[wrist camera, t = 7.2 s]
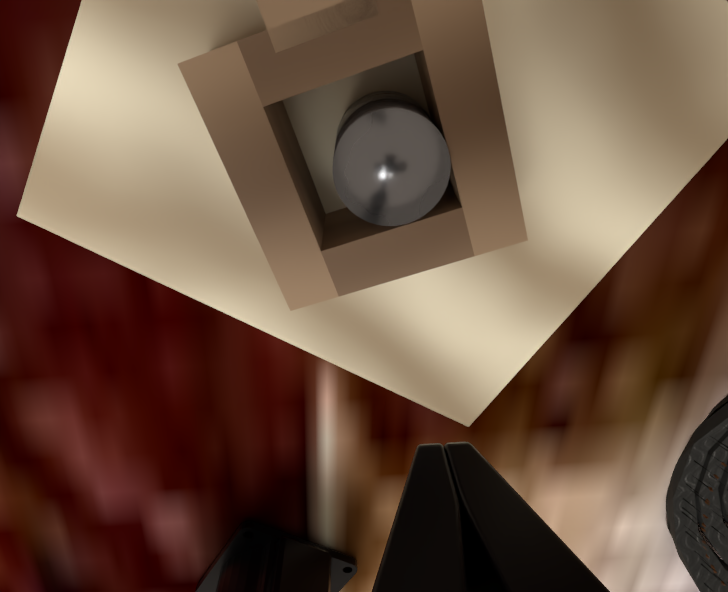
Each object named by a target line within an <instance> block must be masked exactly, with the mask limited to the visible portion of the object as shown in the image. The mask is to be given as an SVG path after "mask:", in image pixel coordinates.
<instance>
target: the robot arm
mask: <svg viewBox="0 0 728 592" xmlns="http://www.w3.org/2000/svg"><path fill="white" fill-rule="evenodd" d="M356 572H357V560H356V559H355V558H353V557H350V556H348V555H345V554H342V553H339V552H337V551H334V550H331V549H328V548H326V547H323V546H320V545H317V544H315V543H312V542H309V541H306V540H304V539H301V538H298V537H295V536H292V535H290V534H287V533H284V532H281V531H279V530H276V529H273V528H270V527H268V526H265V525H262V524H259V523H257V522H254V521H245V522H243V523H241V524H240V526H239V527H238V529H237V530H236V531H235V533H234V534H233V536H232V537H231V538H230V540H229V541H228V543H227V544H226V545H225V547H224V548H223V550H222V551H221V552H220V554H219V555H218V557H217V558H216V559H215V561H214V562H213V564H212V565H211V566H210V568H209V569H208V571H207V572H206V573H205V575H204V576H203V578H202V579H201V580H200V582H199V583H198V585H197V587H196V591H195V592H339V591H340V590H341V589H342V588H343V587H344V585H345V584H346V583H347V582H348V581H349V580H350V579H351V578H352V577H353V576H354V575H355V574H356ZM372 592H610V591H609V590H608V589H607V588H606V587H605V586H604V585H603V584H602V583H601V582H600V581H599V580H598V578H597V577H596V576H595V575H594V574H593V573H592V572H591V571H590V570H589V569H588V568H587V567H586V566H585V565H584V564H583V562H582V561H581V560H580V559H579V558H578V557H577V556H576V555H575V554H574V553H573V552H572V551H571V550H570V549H569V548H568V546H567V545H566V544H565V543H564V542H563V541H562V540H561V539H560V538H559V537H558V536H557V535H556V534H555V533H554V532H553V531H552V529H551V528H550V527H549V526H548V525H547V524H546V523H545V522H544V521H543V520H542V519H541V518H540V517H539V516H538V515H537V513H536V512H535V511H534V510H533V509H532V508H531V507H530V506H529V505H528V504H527V503H526V502H525V501H524V500H523V499H522V497H521V496H520V495H519V494H518V493H517V492H516V491H515V490H514V489H513V488H512V487H511V486H510V485H509V484H508V483H507V481H506V480H505V479H504V478H503V477H502V476H501V475H500V474H499V473H498V472H497V471H496V470H495V469H494V468H493V467H492V466H491V464H490V463H489V462H488V461H487V460H486V459H485V458H484V457H483V456H482V455H481V454H480V453H479V452H478V451H477V450H476V448H475V447H474V446H473V445H472V444H470V443H468V442H454V443H446V444H445V445H444V447H443V445H442V444H439V443H436V444H421V445H419V446H418V447H417V448H416V451H415V454H414V458H413V461H412V464H411V467H410V470H409V474H408V477H407V480H406V483H405V487H404V490H403V493H402V496H401V499H400V503H399V506H398V509H397V512H396V515H395V519H394V522H393V525H392V528H391V531H390V535H389V538H388V541H387V544H386V547H385V551H384V554H383V557H382V560H381V564H380V567H379V570H378V573H377V576H376V580H375V583H374V586H373V589H372Z"/></svg>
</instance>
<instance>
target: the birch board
mask: <svg viewBox="0 0 728 592" xmlns="http://www.w3.org/2000/svg"><path fill="white" fill-rule="evenodd" d="M482 3H483V8H484V13H485V18H486V24H487V29H488V34H489V39H490V44H491V50H492V55H493V60H494V65H495V71H496V76H497V81H498V86H499V91H500V97H501V102H502V107H503V112H504V117H505V123H506V128H507V133H508V138H509V144H510V149H511V154H512V159H513V164H514V170H515V175H516V180H517V185H518V191H519V196H520V201H521V206H522V211H523V217H524V222H525V227H526V232H527V238H528V241H525V242H521V243H518V244H514V245H511V246H508V247H504V248H501V249H498V250H494V251H491V252H488V253H484V254H481V255H477V256H474V257H471V258H467V259H464V260H461V261H457V262H454V263H450V264H447V265H444V266H440V267H437V268H434V269H430V270H427V271H424V272H420V273H417V274H413V275H410V276H407V277H403V278H400V279H397V280H393V281H390V282H387V283H383V284H380V285H376V286H373V287H370V288H366V289H363V290H360V291H356V292H353V293H350V294H346V295H343V296H339V297H336V298H333V299H329V300H326V301H323V302H319V303H316V304H313V305H309V306H306V307H302V308H299V309H296V310H292V311H290V309H289V307H288V305H287V302H286V300H285V298H284V296H283V294H282V292H281V289H280V287H279V285H278V283H277V281H276V278H275V276H274V274H273V272H272V270H271V268H270V265H269V263H268V261H267V259H266V257H265V254H264V252H263V250H262V248H261V246H260V244H259V241H258V239H257V237H256V235H255V233H254V230H253V228H252V226H251V224H250V222H249V219H248V217H247V215H246V213H245V211H244V209H243V206H242V204H241V202H240V200H239V198H238V195H237V193H236V191H235V189H234V187H233V185H232V182H231V180H230V178H229V176H228V174H227V171H226V169H225V167H224V165H223V163H222V160H221V158H220V156H219V154H218V152H217V150H216V147H215V145H214V143H213V141H212V139H211V136H210V134H209V132H208V130H207V128H206V126H205V123H204V121H203V119H202V117H201V115H200V112H199V110H198V108H197V106H196V104H195V102H194V99H193V97H192V95H191V93H190V91H189V88H188V86H187V84H186V82H185V80H184V77H183V75H182V73H181V71H180V69H179V67H178V63H180V62H183V61H186V60H188V59H191V58H194V57H196V56H199V55H202V54H204V53H207V52H210V51H212V50H215V49H218V48H220V47H223V46H226V45H228V44H231V43H234V42H236V41H239V40H242V39H244V38H247V37H250V36H252V35H255V34H258V33H260V32H263V31H266V30H267V28H266V25H265V23H264V20H263V17H262V15H261V12H260V9H259V6H258V4H257V1H256V0H82V1H81V5H80V8H79V11H78V15H77V18H76V21H75V25H74V28H73V31H72V35H71V38H70V41H69V44H68V48H67V51H66V54H65V58H64V61H63V64H62V68H61V71H60V74H59V78H58V81H57V84H56V88H55V91H54V94H53V97H52V101H51V104H50V107H49V111H48V114H47V117H46V121H45V124H44V127H43V131H42V134H41V137H40V140H39V144H38V147H37V150H36V154H35V157H34V160H33V164H32V167H31V170H30V174H29V177H28V180H27V183H26V187H25V190H24V193H23V197H22V200H21V203H20V207H19V210H18V213H17V216H18V217H20V218H22V219H24V220H27V221H29V222H31V223H33V224H35V225H37V226H39V227H42V228H44V229H46V230H48V231H50V232H52V233H54V234H57V235H59V236H61V237H63V238H65V239H67V240H69V241H72V242H74V243H76V244H78V245H80V246H82V247H84V248H87V249H89V250H91V251H93V252H95V253H97V254H99V255H102V256H104V257H106V258H108V259H110V260H112V261H114V262H117V263H119V264H121V265H123V266H125V267H127V268H129V269H132V270H134V271H136V272H138V273H140V274H142V275H144V276H146V277H149V278H151V279H153V280H155V281H157V282H159V283H161V284H164V285H166V286H168V287H170V288H172V289H174V290H176V291H179V292H181V293H183V294H185V295H187V296H189V297H191V298H194V299H196V300H198V301H200V302H202V303H204V304H206V305H209V306H211V307H213V308H215V309H217V310H219V311H221V312H224V313H226V314H228V315H230V316H232V317H234V318H236V319H239V320H241V321H243V322H245V323H247V324H249V325H251V326H254V327H256V328H258V329H260V330H262V331H264V332H266V333H269V334H271V335H273V336H275V337H277V338H279V339H281V340H284V341H286V342H288V343H290V344H292V345H294V346H296V347H298V348H301V349H303V350H305V351H307V352H309V353H311V354H313V355H316V356H318V357H320V358H322V359H324V360H326V361H328V362H331V363H333V364H335V365H337V366H339V367H341V368H343V369H346V370H348V371H350V372H352V373H354V374H356V375H358V376H361V377H363V378H365V379H367V380H369V381H371V382H373V383H376V384H378V385H380V386H382V387H384V388H386V389H388V390H391V391H393V392H395V393H397V394H399V395H401V396H403V397H406V398H408V399H410V400H412V401H414V402H416V403H418V404H421V405H423V406H425V407H427V408H429V409H431V410H433V411H436V412H438V413H440V414H442V415H444V416H446V417H448V418H450V419H453V420H455V421H457V422H459V423H461V424H463V425H465V426H468V427H469V426H470V425H471V424H472V423H473V422H474V420H475V419H476V418H477V417H478V416H479V415H480V414H481V413H482V412H483V410H484V409H485V408H486V407H487V406H488V405H489V404H490V403H491V401H492V400H493V399H494V398H495V397H496V396H497V395H498V394H499V393H500V391H501V390H502V389H503V388H504V387H505V386H506V385H507V384H508V383H509V381H510V380H511V379H512V378H513V377H514V376H515V375H516V374H517V373H518V371H519V370H520V369H521V368H522V367H523V366H524V365H525V364H526V362H527V361H528V360H529V359H530V358H531V357H532V356H533V355H534V354H535V352H536V351H537V350H538V349H539V348H540V347H541V346H542V345H543V344H544V342H545V341H546V340H547V339H548V338H549V337H550V336H551V335H552V334H553V332H554V331H555V330H556V329H557V328H558V327H559V326H560V325H561V323H562V322H563V321H564V320H565V319H566V318H567V317H568V316H569V315H570V313H571V312H572V311H573V310H574V309H575V308H576V307H577V306H578V305H579V303H580V302H581V301H582V300H583V299H584V298H585V297H586V296H587V295H588V293H589V292H590V291H591V290H592V289H593V288H594V287H595V286H596V285H597V283H598V282H599V281H600V280H601V279H602V278H603V277H604V276H605V274H606V273H607V272H608V271H609V270H610V269H611V268H612V267H613V266H614V264H615V263H616V262H617V261H618V260H619V259H620V258H621V257H622V256H623V254H624V253H625V252H626V251H627V250H628V249H629V248H630V247H631V246H632V244H633V243H634V242H635V241H636V240H637V239H638V238H639V237H640V235H641V234H642V233H643V232H644V231H645V230H646V229H647V228H648V227H649V225H650V224H651V223H652V222H653V221H654V220H655V219H656V218H657V217H658V215H659V214H660V213H661V212H662V211H663V210H664V209H665V208H666V207H667V205H668V204H669V203H670V202H671V201H672V200H673V199H674V198H675V196H676V195H677V194H678V193H679V192H680V191H681V190H682V189H683V188H684V186H685V185H686V184H687V183H688V182H689V181H690V180H691V179H692V178H693V176H694V175H695V174H696V173H697V172H698V171H699V170H700V169H701V168H702V166H703V165H704V164H705V163H706V162H707V161H708V160H709V159H710V158H711V156H712V155H713V154H714V153H715V152H716V151H717V150H718V149H719V147H720V146H721V145H722V144H723V143H724V142H725V141H726V140H727V139H728V1H726V0H482ZM377 91H395V92H400V93H403V94H405V95H407V96H409V97H411V98H413V99H414V100H415V101H417V102H418V103H419V104H420V105H421V106H422V107H423V108H424V110H425V111H426V112H427V114H428V115H429V117H430V114H429V110H428V106H427V102H426V99H425V95H424V91H423V87H422V83H421V79H420V75H419V71H418V67H417V63H416V60H415V56H414V53H413V54H410V55H408V56H405V57H402V58H399V59H396V60H394V61H391V62H388V63H385V64H382V65H380V66H377V67H374V68H371V69H368V70H365V71H363V72H360V73H357V74H354V75H351V76H349V77H346V78H343V79H340V80H337V81H334V82H332V83H329V84H326V85H323V86H320V87H318V88H315V89H312V90H309V91H306V92H303V93H301V94H298V95H295V96H292V97H289V98H287V99H284V100H283V103H284V106H285V108H286V111H287V114H288V116H289V119H290V121H291V124H292V127H293V129H294V132H295V135H296V137H297V140H298V142H299V145H300V148H301V150H302V153H303V156H304V158H305V161H306V163H307V166H308V169H309V171H310V174H311V177H312V179H313V182H314V184H315V187H316V190H317V192H318V195H319V198H320V200H321V203H322V205H323V208H324V211H325V213H326V214H327V213H330V212H333V211H336V210H339V209H342V208H346V205H345V204H344V203H343V201H342V200H341V198H340V197H339V195H338V193H337V190H336V187H335V184H334V180H333V157H334V150H335V142H336V135H337V129H338V126H339V123H340V121H341V119H342V117H343V115H344V113H345V112H346V111H347V109H348V108H349V107H350V106H351V105H352V104H353V103H354V102H355V101H357V100H358V99H360V98H361V97H363V96H365V95H367V94H370V93H373V92H377Z"/></svg>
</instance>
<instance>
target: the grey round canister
mask: <svg viewBox="0 0 728 592" xmlns="http://www.w3.org/2000/svg"><path fill="white" fill-rule="evenodd" d="M450 171H451V162H450V154H449V150H448V147H447V144H446V142H445V140H444V138H443V136H442V135H441V133H440V132H439V130H438V129H437V127H436V126H435V124H434V123H433V121H432V120H431V118H430V117H429V115H428V114H427V112H426V111H425V110H424V108H423V107H422V106H421V105H420V104H419V103H418V102H417V101H415V100H414V99H413V98H411V97H409V96H407V95H405V94H403V93H400V92H395V91H377V92H373V93H370V94H367V95H365V96H363V97H361V98H360V99H358V100H357V101H355V102H354V103H353V104H352V105H351V106H350V107H349V108H348V109H347V111H346V112H345V113H344V115H343V117H342V119H341V121H340V123H339V126H338V129H337V135H336V142H335V150H334V157H333V180H334V184H335V187H336V190H337V193H338V195H339V197H340V198H341V200H342V201H343V203H344V204H345V205H346V207H347V208H348V209H349V210H350V211H351V212H353V213H354V214H355V215H356V216H358V217H359V218H361V219H363V220H365V221H367V222H370V223H373V224H376V225H381V226H398V225H404V224H407V223H410V222H413V221H415V220H417V219H419V218H421V217H422V216H424V215H425V214H427V213H428V212H429V211H430V210H431V209H432V208H433V207H434V206H435V205H436V204H437V203H438V202H439V200H440V199H441V197H442V196H443V194H444V192H445V190H446V187H447V185H448V181H449V177H450Z"/></svg>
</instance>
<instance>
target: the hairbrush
mask: <svg viewBox="0 0 728 592" xmlns="http://www.w3.org/2000/svg"><path fill="white" fill-rule="evenodd" d="M727 401H728V396H727V397H726V398H725V399H724V400H723V401H721V402H720V403H719V404H718V405H717V406H716V407H714V408H713V410H712V411H711V412H710V414H709V415H708V416H707V418H708V417H709V416H710V415H711V414H712V413H713V412H714V411H715V410H716V409H717V408H718V407H719V406H721V405H722V404H724V403H726V402H727ZM707 418H706V419H707ZM706 419H705V420H706ZM705 420H704V422H703V423H702V424H701V425H700V426H699V427H698V428H697V429H696V430H695V432H694V433H693V435H692V437H691V439H690V440H689V442H688V444H687V446H686V447H685V449H684V451H683V453H682V454H681V456H680V458H679V460H678V462H677V464H676V466H675V469H674V471H673V474H672V477H671V481H670V486H669V491H668V492H667V499H666V512H667V526H668V529H669V531H670V533H671V535H672V538H673V540H674V543H675V546H676V549H677V552H678V555H679V557H680V559H681V560H682V562H683V564H684V565H685V567H686V569H687V570H688V572H689V574H690V575H691V577H692V579H693V580H694V582H695V584H696V585H697V587H698V589H699V591H700V592H728V527H727V526H726V525H725V523H724V522H723V520H724V521H726V522H727V523H728V403H727V404H726V405H725V406H723V407H722V408H721V409H719V410H718V411H717V412H716V413H714V414H713V415H712V416H711V417H709V418H708V419H707V420H706V421H705ZM722 516H723V517H724V519H723V518H722ZM697 521H698V522H697ZM698 523H699V525H700V528H701V530H702V532H703V533H704V535H705V536H706V537H707V539H708V540H709V541H710V543H711V544H712V546H713V547H714V548H715V550H716V551H717V552H718V554H719V555H720V556H721V558H722V559H723V560H722V559H720V558H719V556H718V555H717V554H716V553H715V552H714V551H713V550H712V549H711V548H710V547H709V546H708V544H707V543H706V542H705V541H704V539H703V538H702V536H701V535H700V534H699V532H698Z"/></svg>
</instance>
